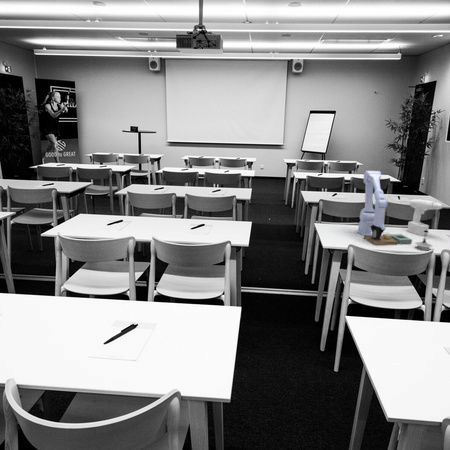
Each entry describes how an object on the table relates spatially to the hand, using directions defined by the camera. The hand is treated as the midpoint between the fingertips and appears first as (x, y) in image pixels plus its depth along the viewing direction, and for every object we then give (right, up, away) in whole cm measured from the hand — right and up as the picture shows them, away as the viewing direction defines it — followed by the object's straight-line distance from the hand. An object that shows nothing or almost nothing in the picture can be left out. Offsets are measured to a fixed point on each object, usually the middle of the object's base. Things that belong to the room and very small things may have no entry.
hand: (375, 237), depth 264 cm
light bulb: (+27, -7, -9) cm, 29 cm away
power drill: (+41, +1, +24) cm, 47 cm away
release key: (+8, -3, +2) cm, 8 cm away
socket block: (+3, -3, +1) cm, 5 cm away
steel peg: (0, -3, +1) cm, 3 cm away
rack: (+17, -3, +4) cm, 18 cm away
